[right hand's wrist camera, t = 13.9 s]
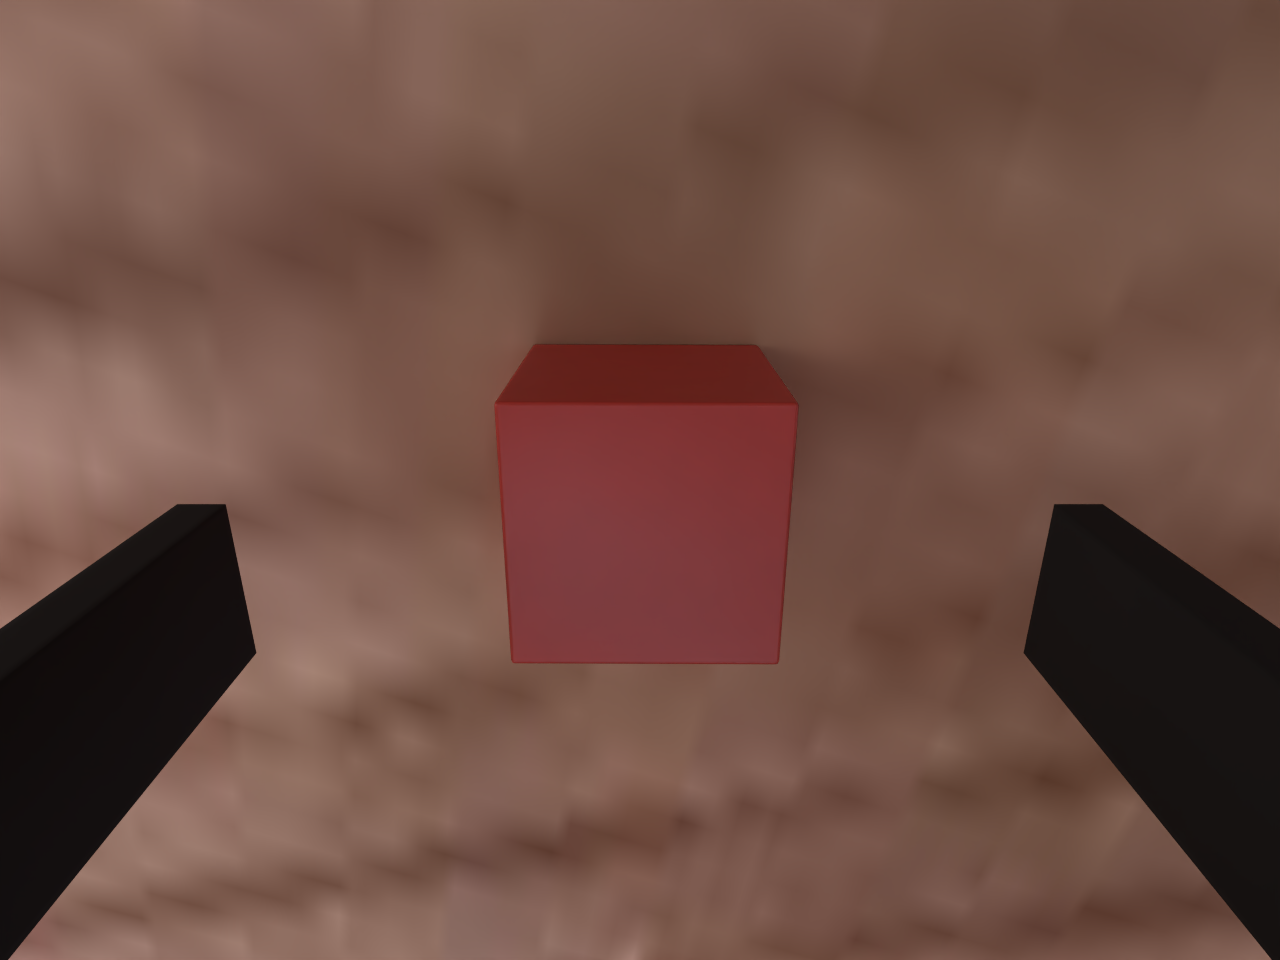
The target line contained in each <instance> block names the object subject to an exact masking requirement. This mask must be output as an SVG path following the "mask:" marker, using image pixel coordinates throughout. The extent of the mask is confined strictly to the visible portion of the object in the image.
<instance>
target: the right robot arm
mask: <svg viewBox="0 0 1280 960" xmlns="http://www.w3.org/2000/svg"><path fill="white" fill-rule="evenodd" d="M255 654H256V649H255V644H254V639H253V634H252V630H251V625H250V620H249V615H248V610H247V605H246V601H245V596H244V591H243V586H242V581H241V576H240V571H239V567H238V562H237V557H236V552H235V547H234V542H233V538H232V533H231V528H230V523H229V518H228V513H227V509H226V504H177V505H176V506H174V507H173V508H171V509H170V510H168V511H167V512H166V513H164V514H163V515H161V516H160V517H159V518H157V519H156V520H154V521H153V522H151V523H150V524H149V525H147V526H146V527H144V528H143V529H141V530H140V531H139V532H137V533H136V534H134V535H133V536H132V537H130V538H129V539H127V540H126V541H124V542H123V543H122V544H120V545H119V546H117V547H116V548H114V549H113V550H112V551H110V552H109V553H107V554H106V555H104V556H103V557H102V558H100V559H99V560H97V561H96V562H95V563H93V564H92V565H90V566H89V567H87V568H86V569H85V570H83V571H82V572H80V573H79V574H77V575H76V576H75V577H73V578H72V579H70V580H69V581H68V582H66V583H65V584H63V585H62V586H60V587H59V588H58V589H56V590H55V591H53V592H52V593H50V594H49V595H48V596H46V597H45V598H43V599H42V600H41V601H39V602H38V603H36V604H35V605H33V606H32V607H31V608H29V609H28V610H26V611H25V612H23V613H22V614H21V615H19V616H18V617H16V618H15V619H13V620H12V621H11V622H9V623H8V624H6V625H5V626H4V627H2V628H1V629H0V960H8V959H9V958H10V957H11V955H12V954H13V953H14V952H15V951H16V949H17V948H18V947H19V946H20V944H21V943H22V942H23V941H24V939H25V938H26V937H27V936H28V934H29V933H30V932H31V931H32V930H33V928H34V927H35V926H36V925H37V923H38V922H39V921H40V920H41V918H42V917H43V916H44V915H45V913H46V912H47V911H48V910H49V909H50V907H51V906H52V905H53V904H54V902H55V901H56V900H57V899H58V897H59V896H60V895H61V894H62V892H63V891H64V890H65V889H66V888H67V886H68V885H69V884H70V883H71V881H72V880H73V879H74V878H75V876H76V875H77V874H78V873H79V871H80V870H81V869H82V868H83V866H84V865H85V864H86V863H87V862H88V860H89V859H90V858H91V857H92V855H93V854H94V853H95V852H96V850H97V849H98V848H99V847H100V845H101V844H102V843H103V842H104V841H105V839H106V838H107V837H108V836H109V834H110V833H111V832H112V831H113V829H114V828H115V827H116V826H117V824H118V823H119V822H120V821H121V820H122V818H123V817H124V816H125V815H126V813H127V812H128V811H129V810H130V808H131V807H132V806H133V805H134V803H135V802H136V801H137V800H138V799H139V797H140V796H141V795H142V794H143V792H144V791H145V790H146V789H147V787H148V786H149V785H150V784H151V782H152V781H153V780H154V779H155V778H156V776H157V775H158V774H159V773H160V771H161V770H162V769H163V768H164V766H165V765H166V764H167V763H168V761H169V760H170V759H171V758H172V757H173V755H174V754H175V753H176V752H177V750H178V749H179V748H180V747H181V745H182V744H183V743H184V742H185V740H186V739H187V738H188V737H189V736H190V734H191V733H192V732H193V731H194V729H195V728H196V727H197V726H198V724H199V723H200V722H201V721H202V719H203V718H204V717H205V716H206V715H207V713H208V712H209V711H210V710H211V708H212V707H213V706H214V705H215V703H216V702H217V701H218V700H219V698H220V697H221V696H222V695H223V694H224V692H225V691H226V690H227V689H228V687H229V686H230V685H231V684H232V682H233V681H234V680H235V679H236V677H237V676H238V675H239V674H240V673H241V671H242V670H243V669H244V668H245V666H246V665H247V664H248V663H249V661H250V660H251V659H252V658H253V656H254V655H255ZM1024 654H1025V655H1026V656H1027V658H1028V659H1029V660H1030V661H1031V663H1032V664H1033V665H1034V666H1035V668H1036V669H1037V670H1038V671H1039V673H1040V674H1041V675H1042V676H1043V677H1044V679H1045V680H1046V681H1047V682H1048V684H1049V685H1050V686H1051V687H1052V689H1053V690H1054V691H1055V692H1056V694H1057V695H1058V696H1059V697H1060V698H1061V700H1062V701H1063V702H1064V703H1065V705H1066V706H1067V707H1068V708H1069V710H1070V711H1071V712H1072V713H1073V715H1074V716H1075V717H1076V718H1077V719H1078V721H1079V722H1080V723H1081V724H1082V726H1083V727H1084V728H1085V729H1086V731H1087V732H1088V733H1089V734H1090V736H1091V737H1092V738H1093V739H1094V740H1095V742H1096V743H1097V744H1098V745H1099V747H1100V748H1101V749H1102V750H1103V752H1104V753H1105V754H1106V755H1107V757H1108V758H1109V759H1110V760H1111V761H1112V763H1113V764H1114V765H1115V766H1116V768H1117V769H1118V770H1119V771H1120V773H1121V774H1122V775H1123V776H1124V778H1125V779H1126V780H1127V781H1128V782H1129V784H1130V785H1131V786H1132V787H1133V789H1134V790H1135V791H1136V792H1137V794H1138V795H1139V796H1140V797H1141V799H1142V800H1143V801H1144V802H1145V803H1146V805H1147V806H1148V807H1149V808H1150V810H1151V811H1152V812H1153V813H1154V815H1155V816H1156V817H1157V818H1158V820H1159V821H1160V822H1161V823H1162V824H1163V826H1164V827H1165V828H1166V829H1167V831H1168V832H1169V833H1170V834H1171V836H1172V837H1173V838H1174V839H1175V841H1176V842H1177V843H1178V844H1179V845H1180V847H1181V848H1182V849H1183V850H1184V852H1185V853H1186V854H1187V855H1188V857H1189V858H1190V859H1191V860H1192V862H1193V863H1194V864H1195V865H1196V866H1197V868H1198V869H1199V870H1200V871H1201V873H1202V874H1203V875H1204V876H1205V878H1206V879H1207V880H1208V881H1209V883H1210V884H1211V885H1212V886H1213V888H1214V889H1215V890H1216V891H1217V892H1218V894H1219V895H1220V896H1221V897H1222V899H1223V900H1224V901H1225V902H1226V904H1227V905H1228V906H1229V907H1230V909H1231V910H1232V911H1233V912H1234V913H1235V915H1236V916H1237V917H1238V918H1239V920H1240V921H1241V922H1242V923H1243V925H1244V926H1245V927H1246V928H1247V930H1248V931H1249V932H1250V933H1251V934H1252V936H1253V937H1254V938H1255V939H1256V941H1257V942H1258V943H1259V944H1260V946H1261V947H1262V948H1263V949H1264V951H1265V952H1266V953H1267V954H1268V955H1269V957H1270V958H1271V959H1272V960H1280V629H1279V628H1278V627H1276V626H1275V625H1274V624H1272V623H1271V622H1269V621H1268V620H1266V619H1265V618H1264V617H1262V616H1261V615H1259V614H1258V613H1257V612H1255V611H1254V610H1252V609H1251V608H1249V607H1248V606H1247V605H1245V604H1244V603H1242V602H1241V601H1239V600H1238V599H1237V598H1235V597H1234V596H1232V595H1231V594H1230V593H1228V592H1227V591H1225V590H1224V589H1222V588H1221V587H1220V586H1218V585H1217V584H1215V583H1214V582H1212V581H1211V580H1210V579H1208V578H1207V577H1205V576H1204V575H1203V574H1201V573H1200V572H1198V571H1197V570H1195V569H1194V568H1193V567H1191V566H1190V565H1188V564H1187V563H1185V562H1184V561H1183V560H1181V559H1180V558H1178V557H1177V556H1176V555H1174V554H1173V553H1171V552H1170V551H1168V550H1167V549H1166V548H1164V547H1163V546H1161V545H1160V544H1158V543H1157V542H1156V541H1154V540H1153V539H1151V538H1150V537H1148V536H1147V535H1146V534H1144V533H1143V532H1141V531H1140V530H1139V529H1137V528H1136V527H1134V526H1133V525H1131V524H1130V523H1129V522H1127V521H1126V520H1124V519H1123V518H1121V517H1120V516H1119V515H1117V514H1116V513H1114V512H1113V511H1112V510H1110V509H1109V508H1107V507H1106V506H1104V505H1103V504H1054V509H1053V513H1052V518H1051V523H1050V528H1049V533H1048V538H1047V542H1046V547H1045V552H1044V557H1043V562H1042V567H1041V571H1040V576H1039V581H1038V586H1037V591H1036V596H1035V601H1034V605H1033V610H1032V615H1031V620H1030V625H1029V630H1028V634H1027V639H1026V644H1025V649H1024Z"/></svg>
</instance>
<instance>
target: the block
mask: <svg viewBox="0 0 1280 960" xmlns="http://www.w3.org/2000/svg"><path fill="white" fill-rule="evenodd" d="M494 406H495V422H496V437H497V452H498V467H499V482H500V497H501V512H502V527H503V543H504V558H505V573H506V588H507V603H508V618H509V633H510V648H511V660H512V662H513V663H613V664H778V662H779V655H780V642H781V629H782V616H783V603H784V590H785V577H786V564H787V551H788V538H789V525H790V512H791V499H792V486H793V474H794V461H795V448H796V435H797V422H798V409H799V405H798V403H797V402H796V400H795V399H794V397H793V396H792V394H791V393H790V392H789V390H788V389H787V387H786V386H785V384H784V383H783V381H782V380H781V379H780V377H779V376H778V374H777V373H776V371H775V370H774V369H773V367H772V366H771V364H770V363H769V361H768V360H767V359H766V357H765V356H764V354H763V353H762V351H761V350H760V348H759V347H758V346H756V345H533V347H532V348H531V350H530V351H529V353H528V354H527V356H526V357H525V359H524V360H523V362H522V363H521V365H520V366H519V368H518V369H517V371H516V372H515V374H514V375H513V377H512V378H511V380H510V381H509V383H508V384H507V386H506V387H505V389H504V390H503V392H502V393H501V395H500V396H499V398H498V399H497V401H496V402H495V405H494Z"/></svg>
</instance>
